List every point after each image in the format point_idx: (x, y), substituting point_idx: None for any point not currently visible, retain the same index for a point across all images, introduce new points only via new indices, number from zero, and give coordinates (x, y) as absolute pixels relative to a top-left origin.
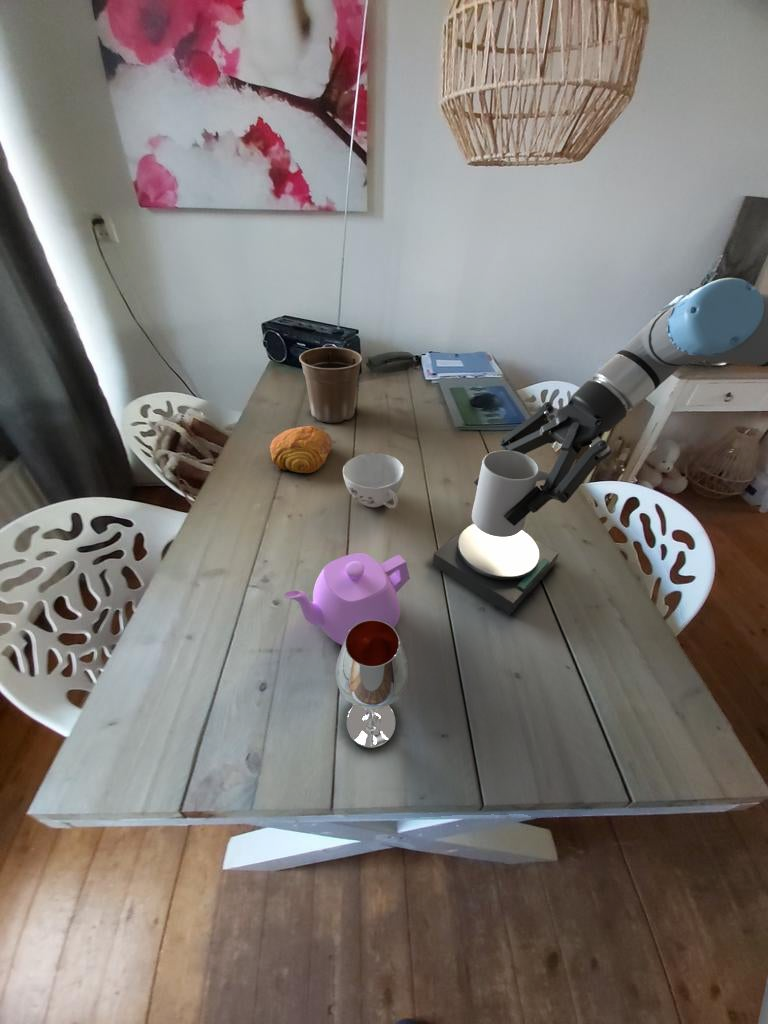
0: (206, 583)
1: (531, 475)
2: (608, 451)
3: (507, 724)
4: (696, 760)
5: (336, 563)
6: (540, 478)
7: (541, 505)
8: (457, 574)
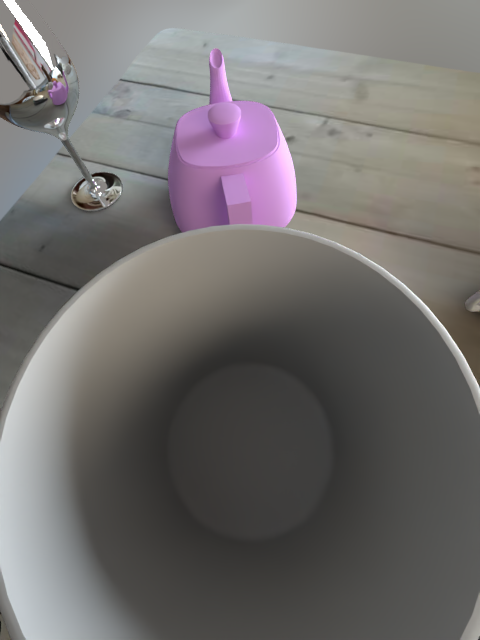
0: (344, 86)
1: (187, 637)
2: None
3: (4, 316)
4: None
5: (263, 115)
6: None
7: None
8: None
